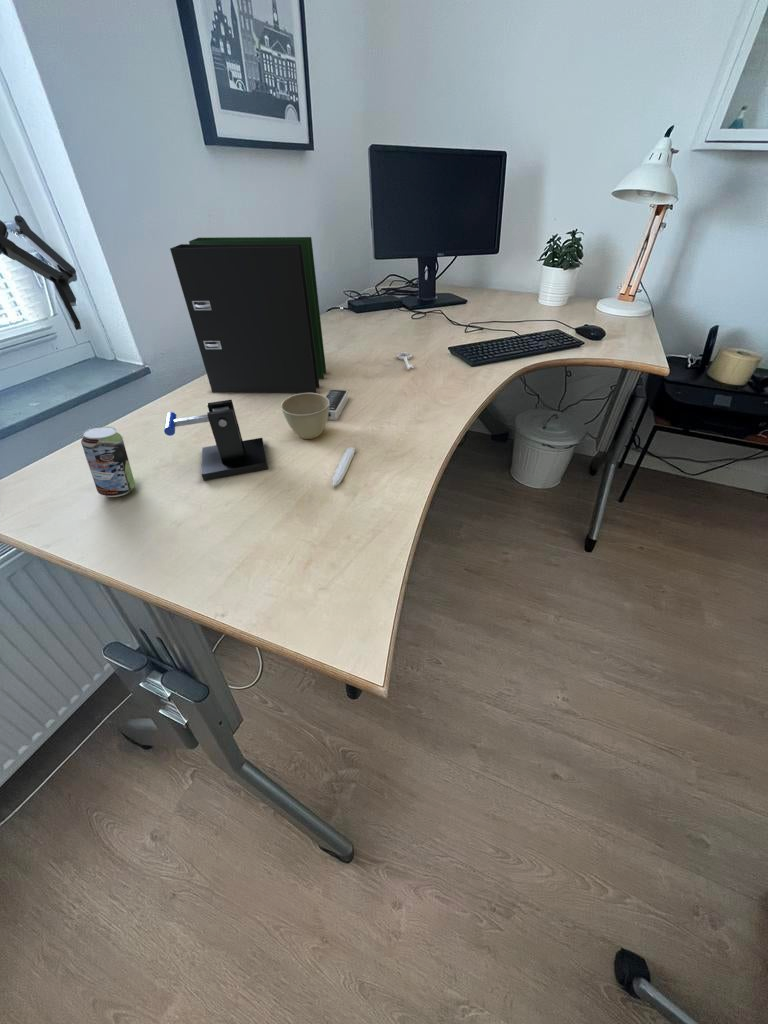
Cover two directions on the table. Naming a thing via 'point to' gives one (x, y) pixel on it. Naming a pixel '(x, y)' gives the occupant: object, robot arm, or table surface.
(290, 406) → the flower pot
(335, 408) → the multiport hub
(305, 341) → the binder
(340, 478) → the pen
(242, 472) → the bracket
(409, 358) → the key
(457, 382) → the table surface
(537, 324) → the table surface
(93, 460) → the beverage can
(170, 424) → the lever
